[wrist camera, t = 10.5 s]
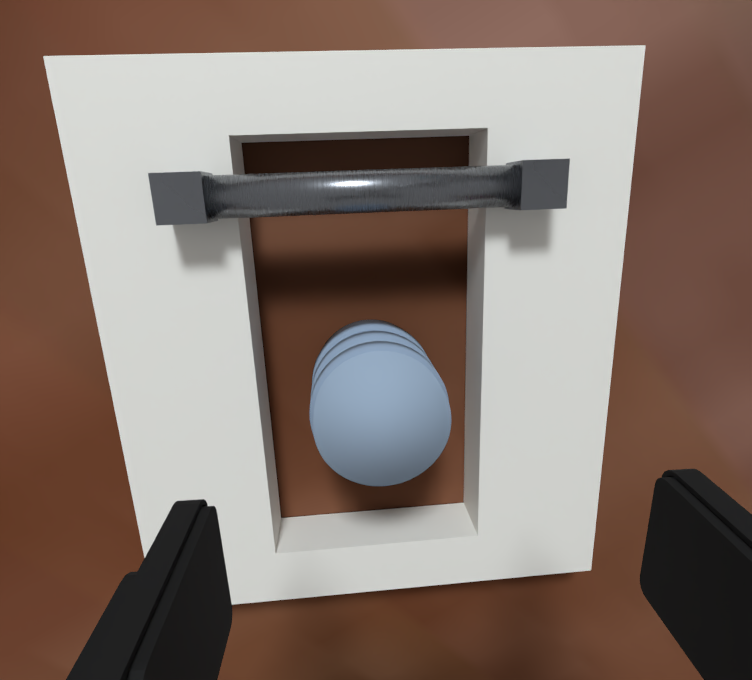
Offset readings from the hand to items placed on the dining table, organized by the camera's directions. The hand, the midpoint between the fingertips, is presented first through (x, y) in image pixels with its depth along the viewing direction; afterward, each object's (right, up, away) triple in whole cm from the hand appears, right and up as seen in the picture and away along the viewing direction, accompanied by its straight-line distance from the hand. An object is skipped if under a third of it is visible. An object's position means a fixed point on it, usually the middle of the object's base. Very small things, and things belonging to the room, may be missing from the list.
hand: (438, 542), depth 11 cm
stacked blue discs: (-2, +3, +12) cm, 12 cm away
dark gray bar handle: (-2, +10, +7) cm, 12 cm away
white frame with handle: (-2, +4, +12) cm, 12 cm away
